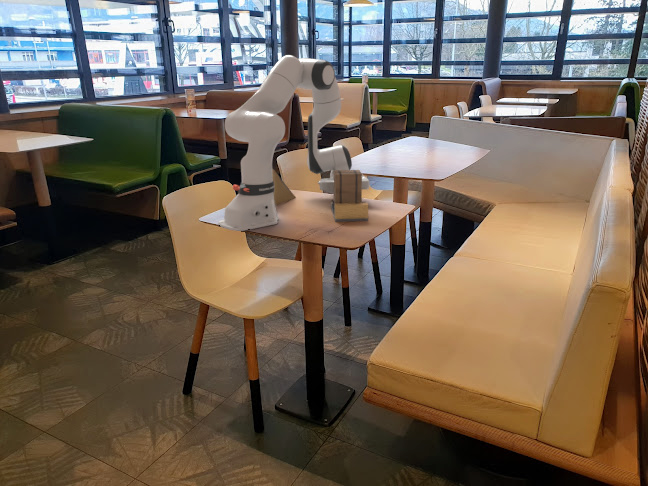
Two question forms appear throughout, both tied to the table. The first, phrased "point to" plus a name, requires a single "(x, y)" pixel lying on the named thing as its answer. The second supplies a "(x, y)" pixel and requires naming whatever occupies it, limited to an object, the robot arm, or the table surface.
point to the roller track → (349, 211)
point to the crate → (347, 186)
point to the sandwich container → (281, 190)
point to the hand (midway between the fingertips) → (346, 188)
